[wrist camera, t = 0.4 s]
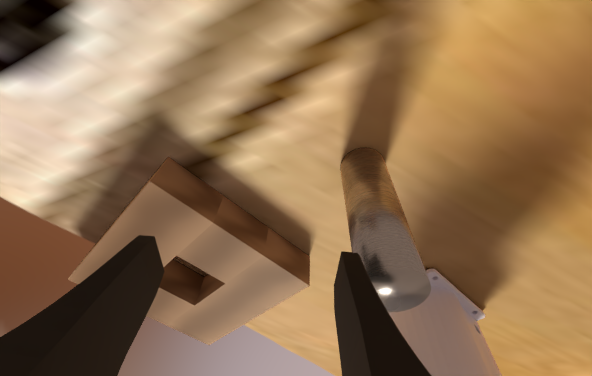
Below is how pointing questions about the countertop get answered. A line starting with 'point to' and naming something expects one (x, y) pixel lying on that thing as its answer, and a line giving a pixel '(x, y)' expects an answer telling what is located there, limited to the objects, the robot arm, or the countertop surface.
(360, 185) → the steel pin
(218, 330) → the socket block
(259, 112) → the countertop surface
